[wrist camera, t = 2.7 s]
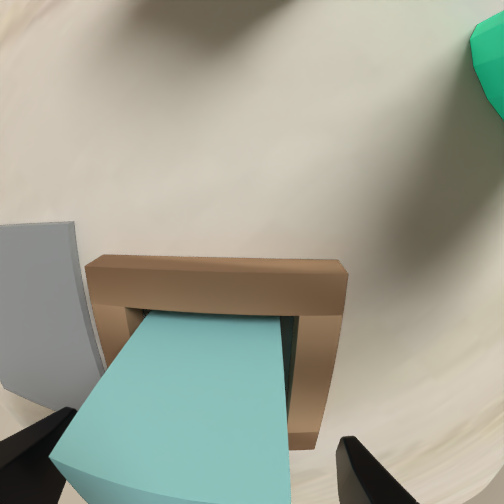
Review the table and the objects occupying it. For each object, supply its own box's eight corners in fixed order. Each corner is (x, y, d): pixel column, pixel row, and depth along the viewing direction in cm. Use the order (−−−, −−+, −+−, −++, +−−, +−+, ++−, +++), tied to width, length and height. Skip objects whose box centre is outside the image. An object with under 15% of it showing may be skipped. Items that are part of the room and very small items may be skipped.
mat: (124, 425, 14) (121, 431, 13) (7, 384, 14) (3, 388, 14) (73, 221, 11) (67, 223, 10) (-41, 228, 11) (-47, 230, 11)
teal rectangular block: (273, 401, 13) (273, 557, 5) (170, 393, 13) (118, 532, 5) (278, 310, 11) (291, 506, 4) (155, 304, 12) (48, 456, 4)
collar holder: (311, 427, 13) (314, 449, 12) (140, 415, 14) (131, 434, 12) (337, 259, 11) (348, 273, 9) (103, 254, 11) (84, 266, 10)
